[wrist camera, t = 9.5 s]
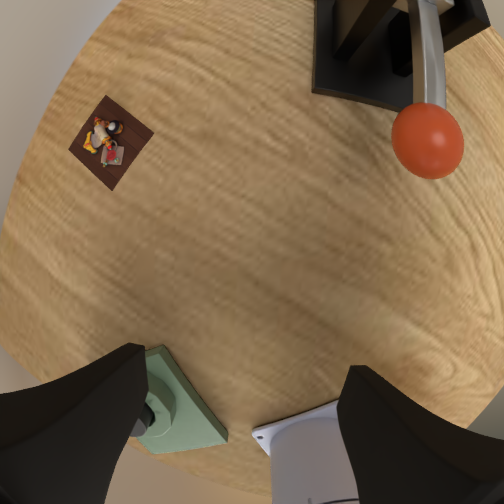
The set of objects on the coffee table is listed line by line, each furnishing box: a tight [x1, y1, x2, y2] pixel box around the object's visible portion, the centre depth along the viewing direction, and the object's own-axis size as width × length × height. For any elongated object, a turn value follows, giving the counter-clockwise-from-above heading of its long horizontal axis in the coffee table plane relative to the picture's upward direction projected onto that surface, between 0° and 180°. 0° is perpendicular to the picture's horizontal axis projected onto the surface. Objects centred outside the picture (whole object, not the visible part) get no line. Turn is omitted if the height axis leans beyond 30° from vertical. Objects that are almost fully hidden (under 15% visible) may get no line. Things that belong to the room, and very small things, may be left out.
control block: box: [136, 345, 228, 454], centre depth 19 cm, size 10×8×3 cm
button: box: [130, 402, 153, 437], centre depth 16 cm, size 3×3×2 cm
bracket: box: [312, 0, 491, 113], centre depth 9 cm, size 9×7×10 cm
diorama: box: [68, 95, 154, 191], centre depth 15 cm, size 3×4×2 cm
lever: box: [391, 0, 464, 179], centre depth 7 cm, size 11×3×3 cm, turn 175°
